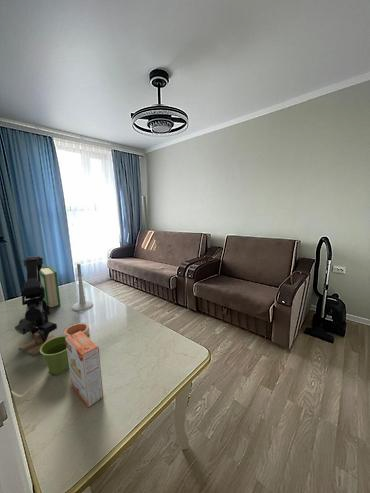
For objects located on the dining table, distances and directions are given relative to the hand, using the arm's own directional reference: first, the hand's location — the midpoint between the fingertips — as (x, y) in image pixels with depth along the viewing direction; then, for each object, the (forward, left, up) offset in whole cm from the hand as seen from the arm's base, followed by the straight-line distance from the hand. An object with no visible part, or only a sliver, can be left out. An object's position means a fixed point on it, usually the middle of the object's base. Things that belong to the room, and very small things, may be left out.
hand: (40, 340), depth 101 cm
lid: (0, 0, -2) cm, 2 cm away
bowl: (+11, +12, -2) cm, 16 cm away
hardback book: (-37, +32, -3) cm, 49 cm away
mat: (0, 0, -2) cm, 2 cm away
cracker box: (+41, -10, -3) cm, 42 cm away
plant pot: (+22, -6, -3) cm, 23 cm away
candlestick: (-13, +37, -3) cm, 39 cm away
